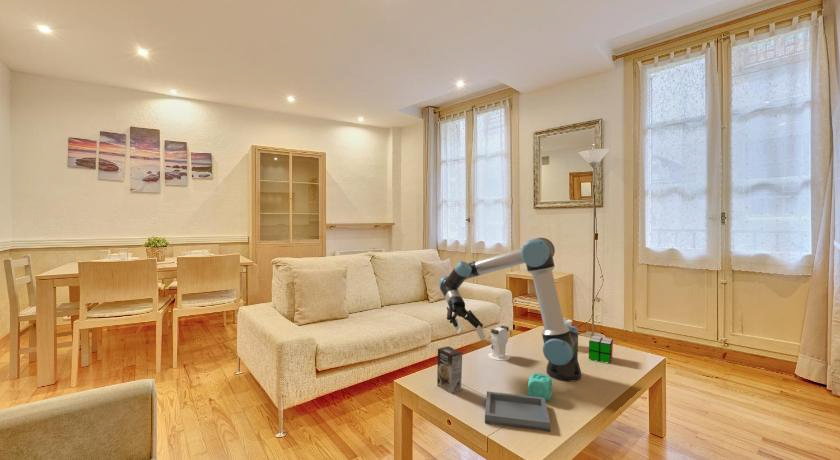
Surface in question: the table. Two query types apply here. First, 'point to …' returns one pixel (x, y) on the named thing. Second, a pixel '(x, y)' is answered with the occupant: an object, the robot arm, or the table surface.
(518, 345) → the table surface
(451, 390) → the coffee box
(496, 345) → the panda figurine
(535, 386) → the decorative dice
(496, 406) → the tray
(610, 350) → the puzzle cube
